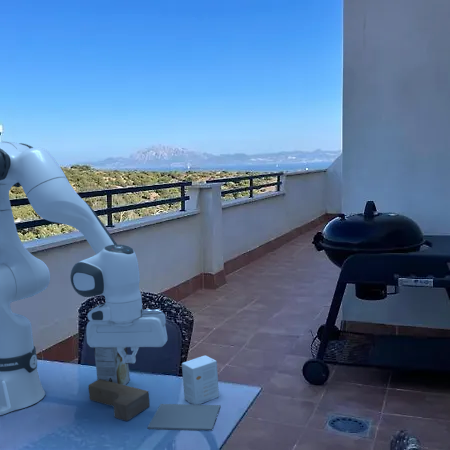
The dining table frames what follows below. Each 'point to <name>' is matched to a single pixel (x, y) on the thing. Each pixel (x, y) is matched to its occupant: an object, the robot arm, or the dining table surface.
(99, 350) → the coffee box
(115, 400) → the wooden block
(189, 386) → the small box
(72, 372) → the dining table surface
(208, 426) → the mat
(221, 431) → the dining table surface
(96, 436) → the dining table surface
